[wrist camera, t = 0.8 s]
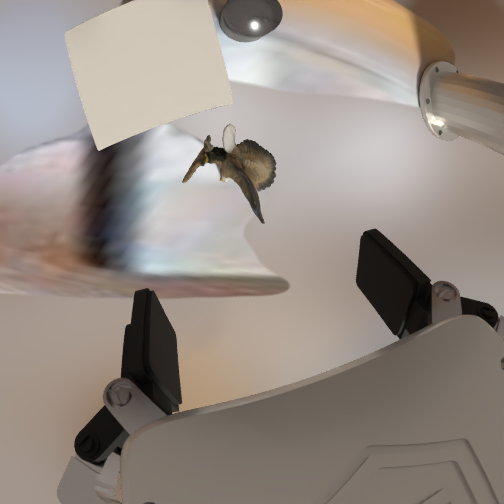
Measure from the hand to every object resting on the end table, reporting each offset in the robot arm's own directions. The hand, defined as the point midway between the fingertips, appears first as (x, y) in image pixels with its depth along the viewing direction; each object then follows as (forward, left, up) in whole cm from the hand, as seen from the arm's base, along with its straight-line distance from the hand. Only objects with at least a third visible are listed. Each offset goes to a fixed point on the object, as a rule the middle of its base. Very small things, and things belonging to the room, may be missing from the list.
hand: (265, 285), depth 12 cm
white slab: (+3, -13, -19) cm, 23 cm away
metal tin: (-7, -15, -20) cm, 25 cm away
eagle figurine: (-2, +1, -20) cm, 20 cm away
